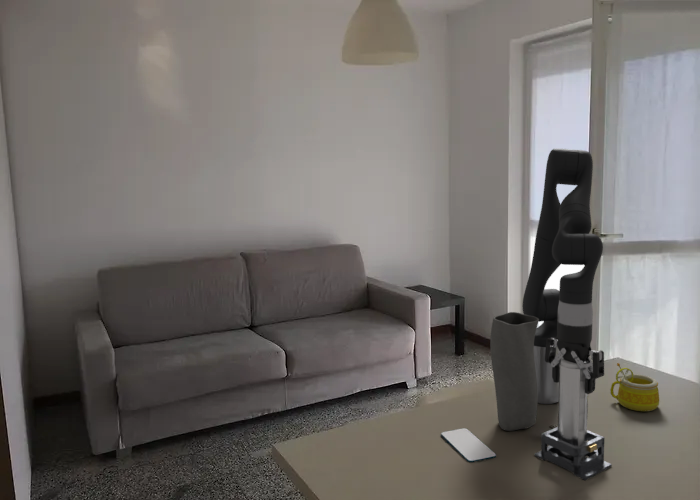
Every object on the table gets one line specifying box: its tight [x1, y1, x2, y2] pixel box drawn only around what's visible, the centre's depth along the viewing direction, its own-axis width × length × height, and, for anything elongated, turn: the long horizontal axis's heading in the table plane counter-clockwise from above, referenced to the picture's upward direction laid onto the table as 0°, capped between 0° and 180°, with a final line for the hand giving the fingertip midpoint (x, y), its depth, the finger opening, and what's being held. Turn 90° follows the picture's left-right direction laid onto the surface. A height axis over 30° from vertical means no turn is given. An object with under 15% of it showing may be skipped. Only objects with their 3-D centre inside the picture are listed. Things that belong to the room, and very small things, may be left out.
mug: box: [609, 362, 660, 412], centre depth 170 cm, size 13×11×12 cm
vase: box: [489, 311, 539, 432], centre depth 159 cm, size 12×12×30 cm
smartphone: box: [440, 427, 497, 463], centre depth 151 cm, size 8×1×16 cm
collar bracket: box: [533, 426, 613, 481], centre depth 141 cm, size 14×10×6 cm
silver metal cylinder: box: [556, 358, 589, 462], centre depth 140 cm, size 6×6×25 cm
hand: (572, 387), depth 139 cm, fingers open, 8 cm apart
